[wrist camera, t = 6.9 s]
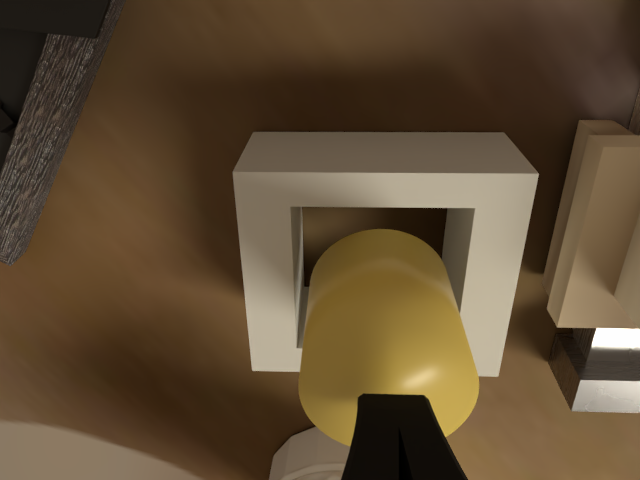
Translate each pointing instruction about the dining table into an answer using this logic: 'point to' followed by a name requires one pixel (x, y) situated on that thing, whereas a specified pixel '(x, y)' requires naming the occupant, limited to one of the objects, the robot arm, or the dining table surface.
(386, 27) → the dining table surface
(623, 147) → the carriage
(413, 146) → the frame
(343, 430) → the cylinder
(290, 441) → the white cup
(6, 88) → the picture frame
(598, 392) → the gray block handle
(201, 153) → the dining table surface
